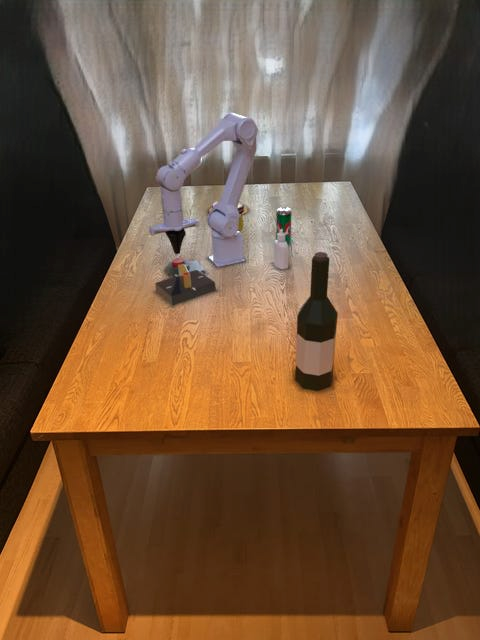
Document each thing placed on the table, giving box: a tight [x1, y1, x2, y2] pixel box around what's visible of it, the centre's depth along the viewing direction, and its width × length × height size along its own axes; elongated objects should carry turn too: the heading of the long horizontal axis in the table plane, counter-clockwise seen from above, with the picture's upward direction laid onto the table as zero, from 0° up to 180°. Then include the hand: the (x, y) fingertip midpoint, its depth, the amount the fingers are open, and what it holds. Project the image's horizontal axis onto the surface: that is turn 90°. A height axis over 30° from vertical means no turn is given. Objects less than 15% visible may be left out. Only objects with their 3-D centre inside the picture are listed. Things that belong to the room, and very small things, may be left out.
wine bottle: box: [294, 251, 339, 392], centre depth 109 cm, size 8×8×30 cm
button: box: [171, 257, 185, 268], centre depth 160 cm, size 4×4×2 cm
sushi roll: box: [208, 200, 248, 216], centre depth 206 cm, size 15×15×4 cm
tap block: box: [154, 270, 216, 307], centre depth 151 cm, size 14×12×3 cm
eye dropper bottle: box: [273, 229, 289, 270], centre depth 161 cm, size 4×6×12 cm
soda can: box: [275, 206, 293, 246], centre depth 176 cm, size 5×5×12 cm
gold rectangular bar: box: [178, 264, 191, 288], centre depth 150 cm, size 8×2×4 cm, turn 19°
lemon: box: [238, 214, 244, 233], centre depth 185 cm, size 6×6×8 cm
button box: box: [165, 260, 206, 278], centre depth 162 cm, size 10×8×3 cm
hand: (176, 252), depth 159 cm, fingers closed
